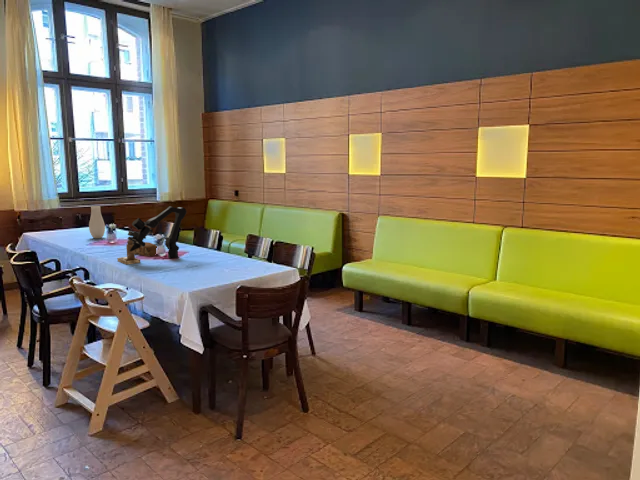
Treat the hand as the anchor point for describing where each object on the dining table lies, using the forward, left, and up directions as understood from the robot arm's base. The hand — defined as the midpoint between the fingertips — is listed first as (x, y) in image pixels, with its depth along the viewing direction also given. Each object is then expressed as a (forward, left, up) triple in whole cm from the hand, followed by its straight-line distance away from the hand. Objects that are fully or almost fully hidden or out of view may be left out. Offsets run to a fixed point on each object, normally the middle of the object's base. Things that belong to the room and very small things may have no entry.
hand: (128, 250), depth 346 cm
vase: (-8, -135, -10) cm, 136 cm away
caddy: (-1, -4, -9) cm, 10 cm away
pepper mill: (-1, 0, -7) cm, 7 cm away
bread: (-20, -28, -10) cm, 35 cm away
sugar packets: (0, -8, -9) cm, 12 cm away
